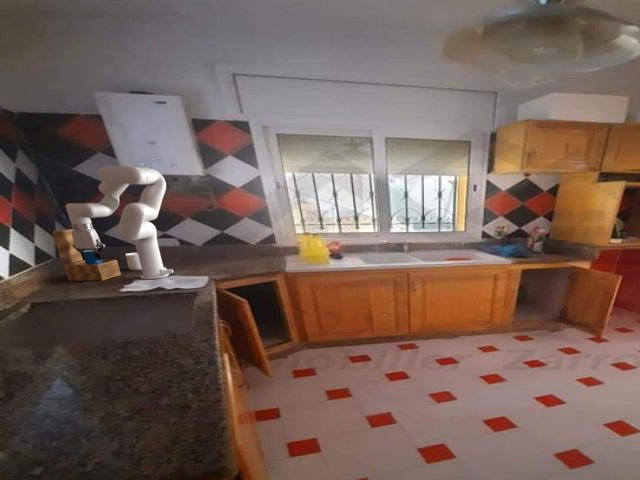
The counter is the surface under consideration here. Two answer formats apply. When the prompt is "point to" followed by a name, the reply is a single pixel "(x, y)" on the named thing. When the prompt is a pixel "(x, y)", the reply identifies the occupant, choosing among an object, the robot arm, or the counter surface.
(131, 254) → the cup
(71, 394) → the counter surface
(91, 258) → the beverage can
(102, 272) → the chest
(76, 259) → the lid
